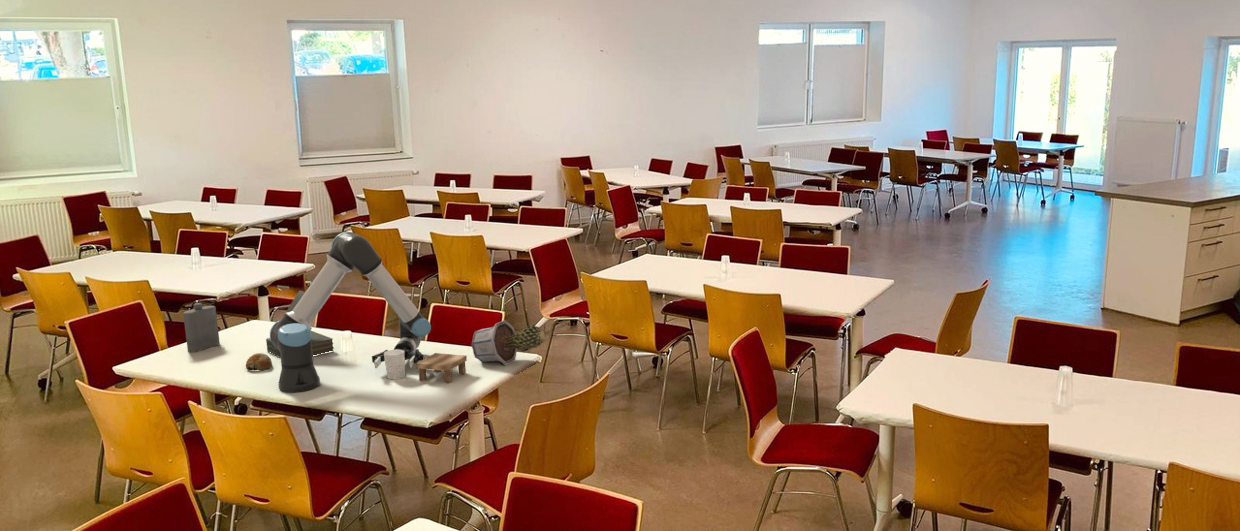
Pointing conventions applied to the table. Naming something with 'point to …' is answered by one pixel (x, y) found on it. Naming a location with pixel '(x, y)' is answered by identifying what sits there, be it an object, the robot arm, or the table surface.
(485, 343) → the potted plant
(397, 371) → the white cup
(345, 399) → the table surface
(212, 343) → the flask
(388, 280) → the robot arm
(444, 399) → the table surface
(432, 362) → the stool
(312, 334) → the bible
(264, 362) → the bread roll
